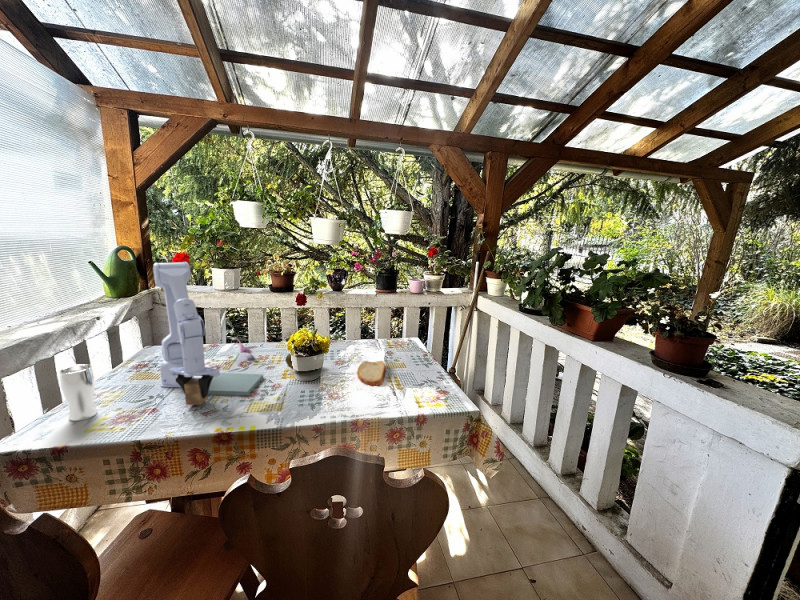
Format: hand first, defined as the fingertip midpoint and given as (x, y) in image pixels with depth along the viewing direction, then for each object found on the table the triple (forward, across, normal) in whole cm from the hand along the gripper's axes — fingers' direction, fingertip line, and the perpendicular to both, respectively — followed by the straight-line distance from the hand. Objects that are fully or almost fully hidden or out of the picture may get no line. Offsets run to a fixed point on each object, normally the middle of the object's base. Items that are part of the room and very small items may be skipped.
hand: (197, 396), depth 107 cm
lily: (+3, -2, +39) cm, 39 cm away
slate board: (+3, +4, +14) cm, 15 cm away
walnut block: (+2, 0, 0) cm, 2 cm away
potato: (+3, +26, +29) cm, 39 cm away
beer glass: (+3, -29, -8) cm, 30 cm away
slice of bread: (+3, +55, +28) cm, 62 cm away
